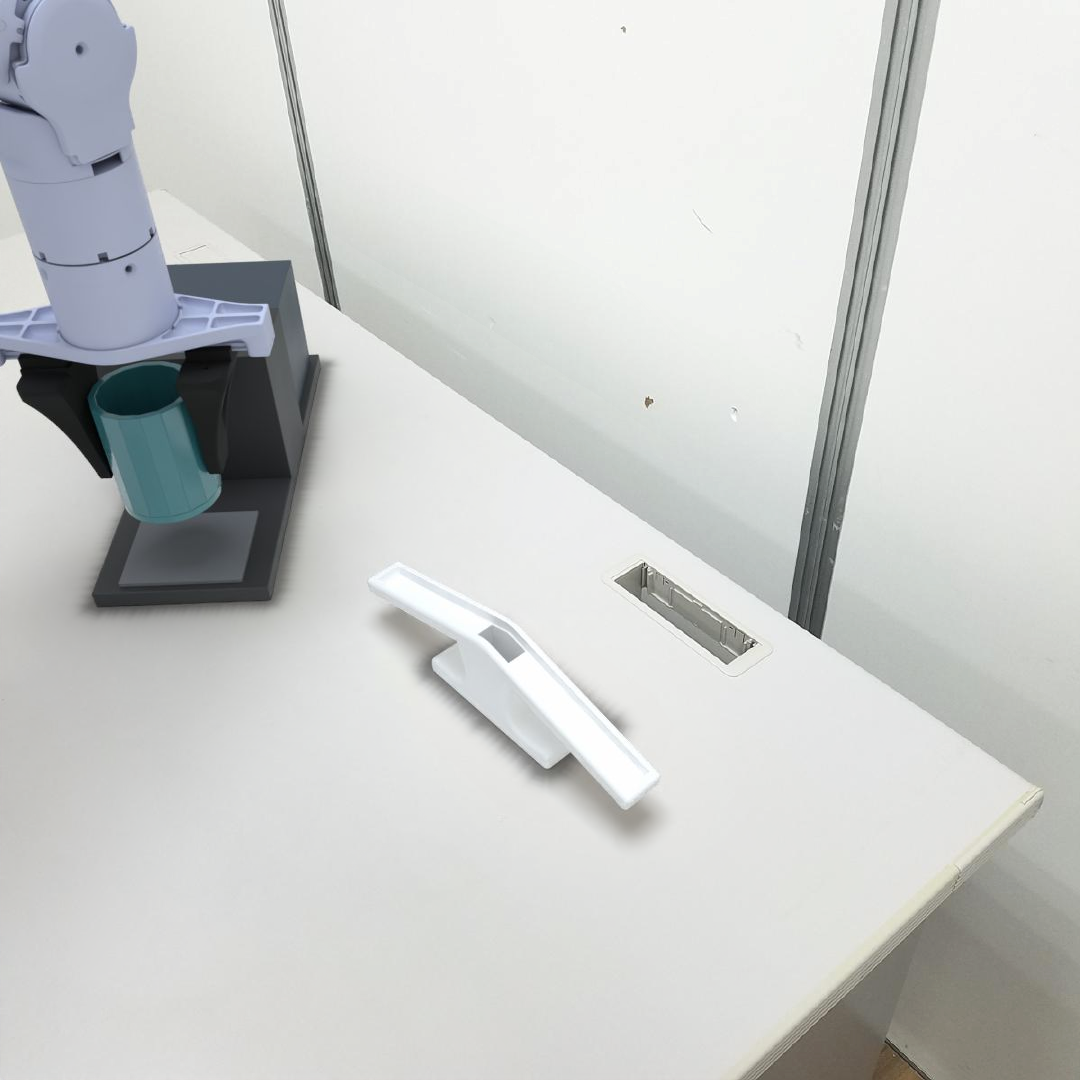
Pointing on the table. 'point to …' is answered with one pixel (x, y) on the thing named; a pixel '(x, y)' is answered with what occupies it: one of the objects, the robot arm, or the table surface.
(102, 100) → the robot arm
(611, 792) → the t-shaped cleat
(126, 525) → the coffee maker
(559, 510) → the table surface
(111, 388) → the cup
